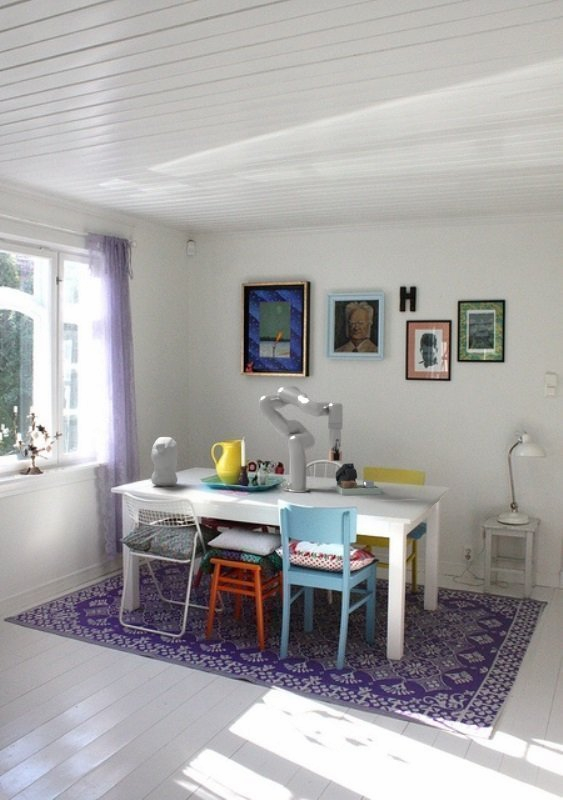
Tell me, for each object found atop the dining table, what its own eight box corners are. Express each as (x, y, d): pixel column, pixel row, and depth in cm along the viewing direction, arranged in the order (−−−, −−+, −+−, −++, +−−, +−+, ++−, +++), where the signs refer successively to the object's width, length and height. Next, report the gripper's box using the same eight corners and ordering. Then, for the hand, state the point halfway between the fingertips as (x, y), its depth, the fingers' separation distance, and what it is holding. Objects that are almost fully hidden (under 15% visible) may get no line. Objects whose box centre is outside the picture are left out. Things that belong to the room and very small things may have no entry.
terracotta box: (330, 461, 396) (330, 451, 396) (328, 459, 401) (328, 450, 401) (341, 461, 397) (341, 451, 397) (339, 459, 402) (339, 450, 402)
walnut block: (344, 494, 401) (344, 483, 400) (340, 491, 408) (341, 480, 407) (356, 493, 402) (357, 482, 402) (353, 491, 409) (353, 480, 408)
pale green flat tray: (341, 496, 398) (341, 489, 398) (336, 492, 410) (336, 485, 409) (381, 495, 402) (381, 488, 402) (374, 491, 414) (374, 484, 413)
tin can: (364, 493, 403) (364, 482, 403) (361, 491, 409) (361, 480, 409) (375, 493, 404) (375, 482, 404) (371, 491, 410) (372, 480, 410)
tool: (350, 486, 412) (345, 461, 418) (337, 498, 428) (331, 473, 434) (360, 486, 414) (354, 461, 420) (346, 497, 430) (341, 473, 436)
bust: (181, 483, 433) (181, 435, 432) (172, 491, 407) (172, 440, 405) (156, 482, 434) (156, 434, 432) (145, 490, 408) (145, 439, 406)
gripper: (325, 424, 406) (325, 457, 407) (331, 427, 389) (331, 462, 390) (338, 424, 407) (338, 457, 408) (345, 427, 391) (345, 461, 392)
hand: (335, 459), depth 399 cm, fingers closed on terracotta box, 4 cm apart
